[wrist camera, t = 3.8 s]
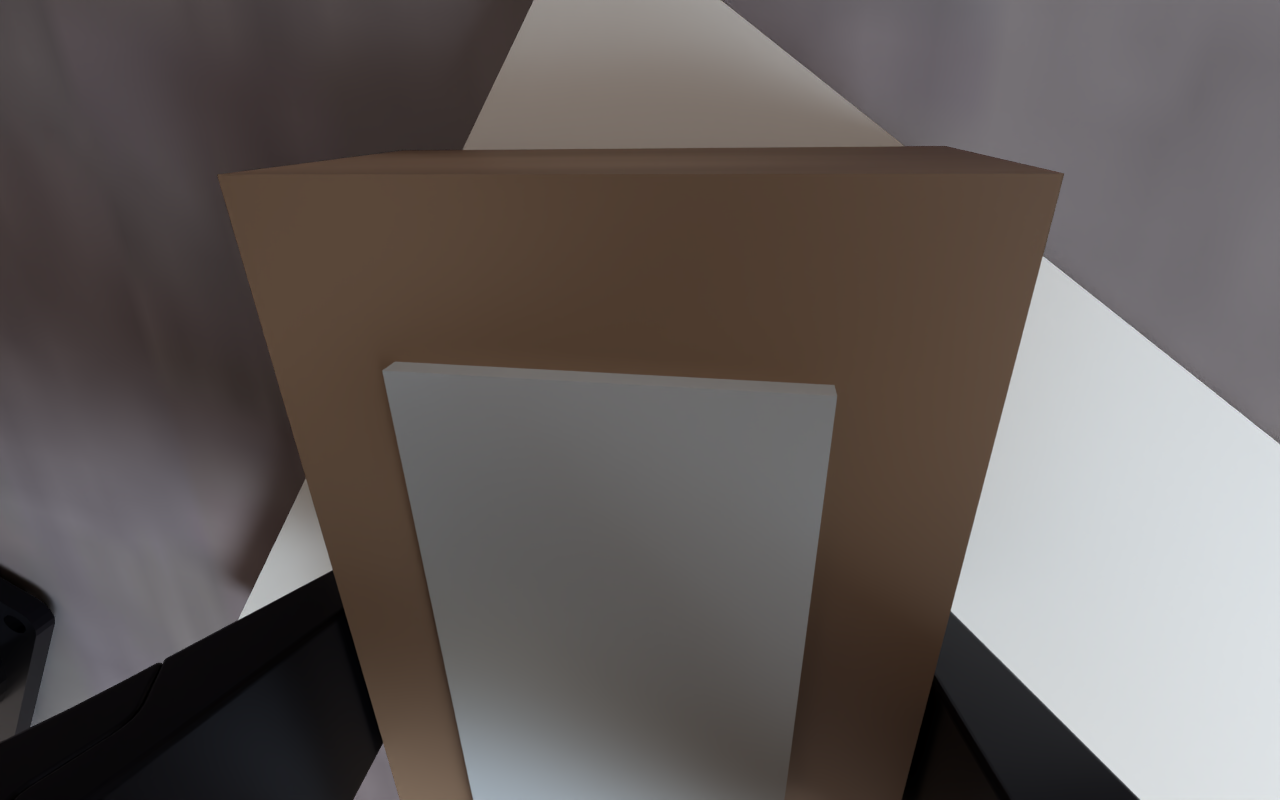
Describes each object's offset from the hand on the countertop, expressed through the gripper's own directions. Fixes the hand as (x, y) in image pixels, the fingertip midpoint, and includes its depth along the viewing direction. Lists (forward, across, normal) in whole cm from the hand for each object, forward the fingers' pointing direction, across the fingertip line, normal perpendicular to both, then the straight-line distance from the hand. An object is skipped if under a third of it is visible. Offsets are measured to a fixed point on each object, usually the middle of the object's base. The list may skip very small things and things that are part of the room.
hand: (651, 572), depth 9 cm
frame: (0, 0, 0) cm, 0 cm away
